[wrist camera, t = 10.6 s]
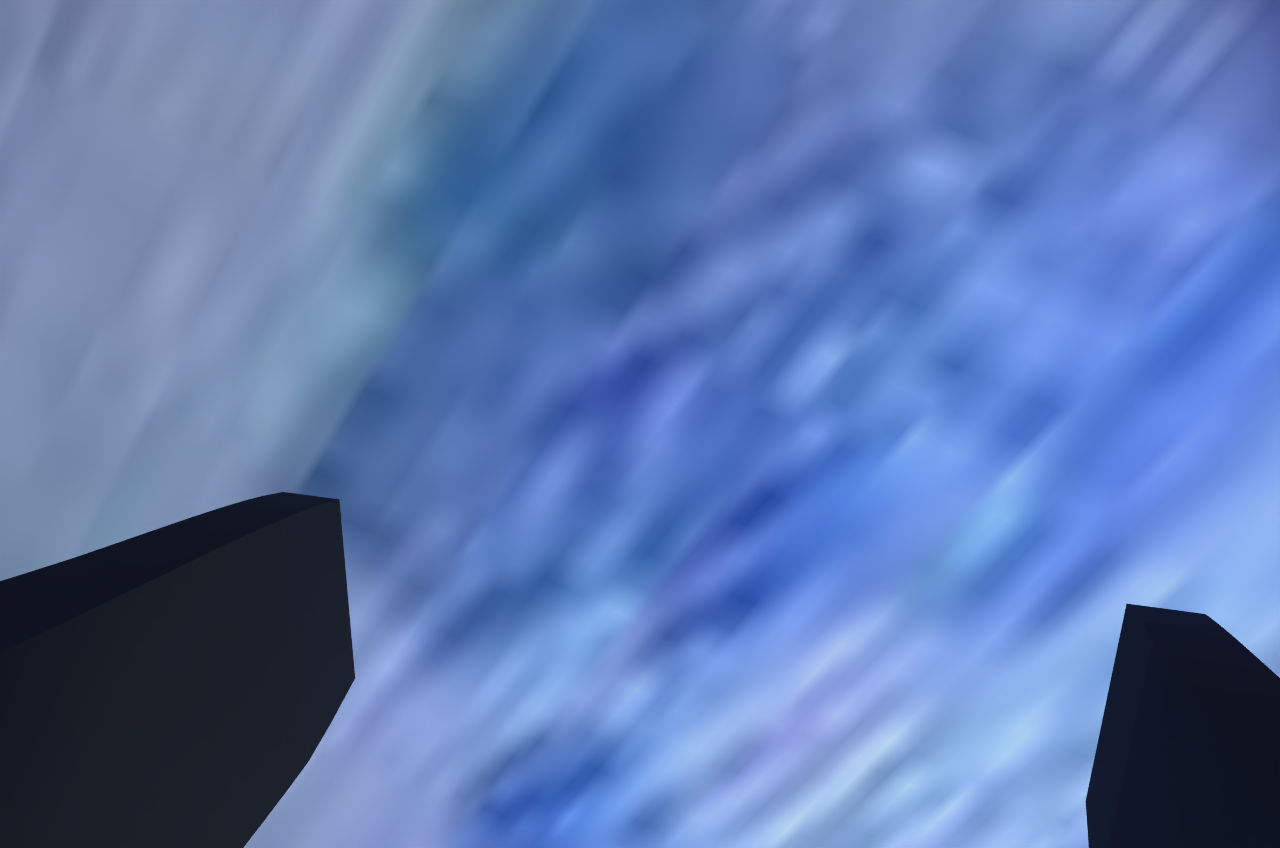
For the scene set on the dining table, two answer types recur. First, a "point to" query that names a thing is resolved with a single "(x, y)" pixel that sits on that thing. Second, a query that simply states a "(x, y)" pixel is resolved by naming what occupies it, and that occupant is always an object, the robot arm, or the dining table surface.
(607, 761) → the dining table surface
